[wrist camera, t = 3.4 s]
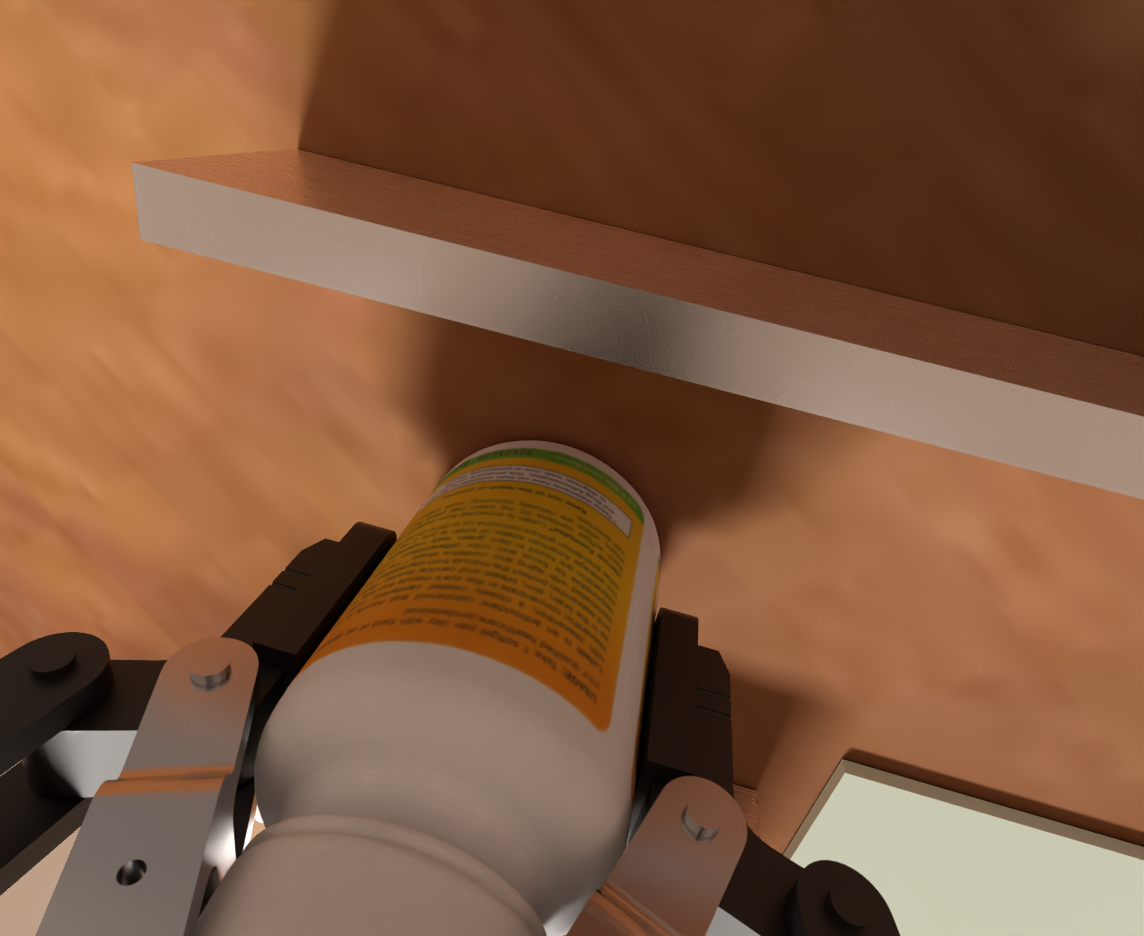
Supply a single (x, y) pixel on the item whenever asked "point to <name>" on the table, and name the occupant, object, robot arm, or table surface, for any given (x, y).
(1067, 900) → the pad
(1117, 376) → the channel
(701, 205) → the table surface
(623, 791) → the supplement bottle
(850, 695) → the table surface
